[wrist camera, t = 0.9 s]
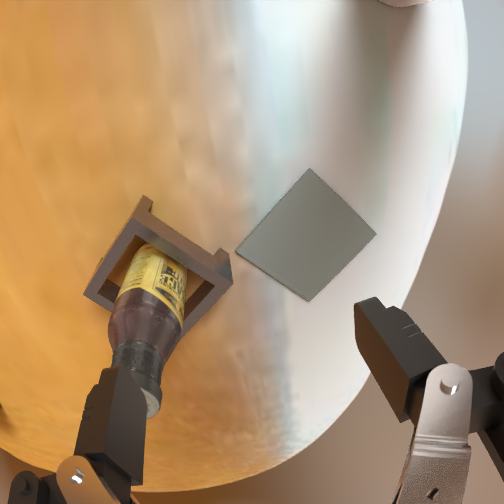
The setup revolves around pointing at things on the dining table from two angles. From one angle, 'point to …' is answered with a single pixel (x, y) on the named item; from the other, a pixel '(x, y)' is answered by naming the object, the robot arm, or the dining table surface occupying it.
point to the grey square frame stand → (174, 246)
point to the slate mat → (307, 237)
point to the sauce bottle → (148, 319)
